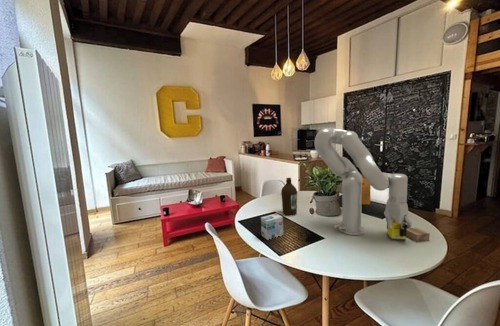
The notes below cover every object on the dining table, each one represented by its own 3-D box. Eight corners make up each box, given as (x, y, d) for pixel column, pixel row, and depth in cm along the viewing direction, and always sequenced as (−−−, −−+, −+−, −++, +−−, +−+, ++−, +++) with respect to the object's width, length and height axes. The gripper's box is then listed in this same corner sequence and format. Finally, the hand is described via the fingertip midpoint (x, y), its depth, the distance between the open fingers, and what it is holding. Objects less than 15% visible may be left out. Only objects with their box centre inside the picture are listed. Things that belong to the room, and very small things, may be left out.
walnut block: (416, 242, 108) (417, 235, 107) (404, 236, 115) (404, 228, 114) (429, 241, 109) (429, 233, 108) (416, 234, 116) (416, 227, 115)
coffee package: (350, 200, 173) (351, 172, 170) (368, 201, 169) (369, 172, 166) (352, 204, 164) (352, 175, 161) (371, 205, 160) (371, 175, 157)
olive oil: (278, 213, 154) (277, 178, 150) (288, 209, 161) (287, 175, 157) (291, 217, 146) (290, 180, 143) (300, 212, 153) (299, 177, 150)
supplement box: (405, 240, 110) (406, 219, 108) (391, 240, 111) (392, 219, 109) (399, 235, 115) (400, 215, 114) (387, 234, 117) (387, 214, 115)
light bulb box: (267, 240, 118) (266, 221, 116) (261, 235, 124) (260, 217, 122) (284, 235, 123) (283, 216, 121) (277, 230, 128) (276, 212, 127)
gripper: (378, 194, 118) (377, 226, 121) (405, 205, 101) (403, 241, 104) (390, 193, 119) (389, 224, 122) (419, 203, 102) (418, 239, 105)
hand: (396, 232), depth 113 cm, fingers closed on supplement box, 7 cm apart
